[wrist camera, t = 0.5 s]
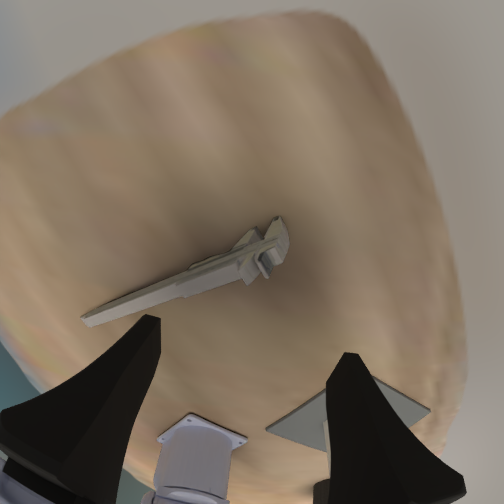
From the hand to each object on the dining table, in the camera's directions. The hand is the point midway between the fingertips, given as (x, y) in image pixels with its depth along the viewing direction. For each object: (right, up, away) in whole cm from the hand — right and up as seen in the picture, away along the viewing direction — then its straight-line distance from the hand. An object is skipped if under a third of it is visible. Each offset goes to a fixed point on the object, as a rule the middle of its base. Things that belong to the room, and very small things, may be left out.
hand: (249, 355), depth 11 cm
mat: (+12, -16, +18) cm, 26 cm away
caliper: (-7, +2, +12) cm, 14 cm away
